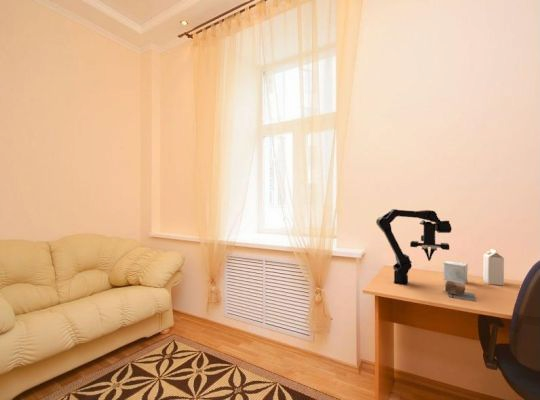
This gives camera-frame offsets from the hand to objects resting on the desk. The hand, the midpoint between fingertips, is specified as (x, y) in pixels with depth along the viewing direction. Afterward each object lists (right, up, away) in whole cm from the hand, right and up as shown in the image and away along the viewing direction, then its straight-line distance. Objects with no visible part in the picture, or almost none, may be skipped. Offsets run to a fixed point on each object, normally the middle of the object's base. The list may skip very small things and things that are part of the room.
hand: (429, 260), depth 155 cm
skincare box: (+18, -13, +5) cm, 23 cm away
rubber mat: (+6, -13, -19) cm, 24 cm away
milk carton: (+36, -13, +1) cm, 39 cm away
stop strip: (+1, -13, -16) cm, 21 cm away
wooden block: (0, -10, -15) cm, 17 cm away
